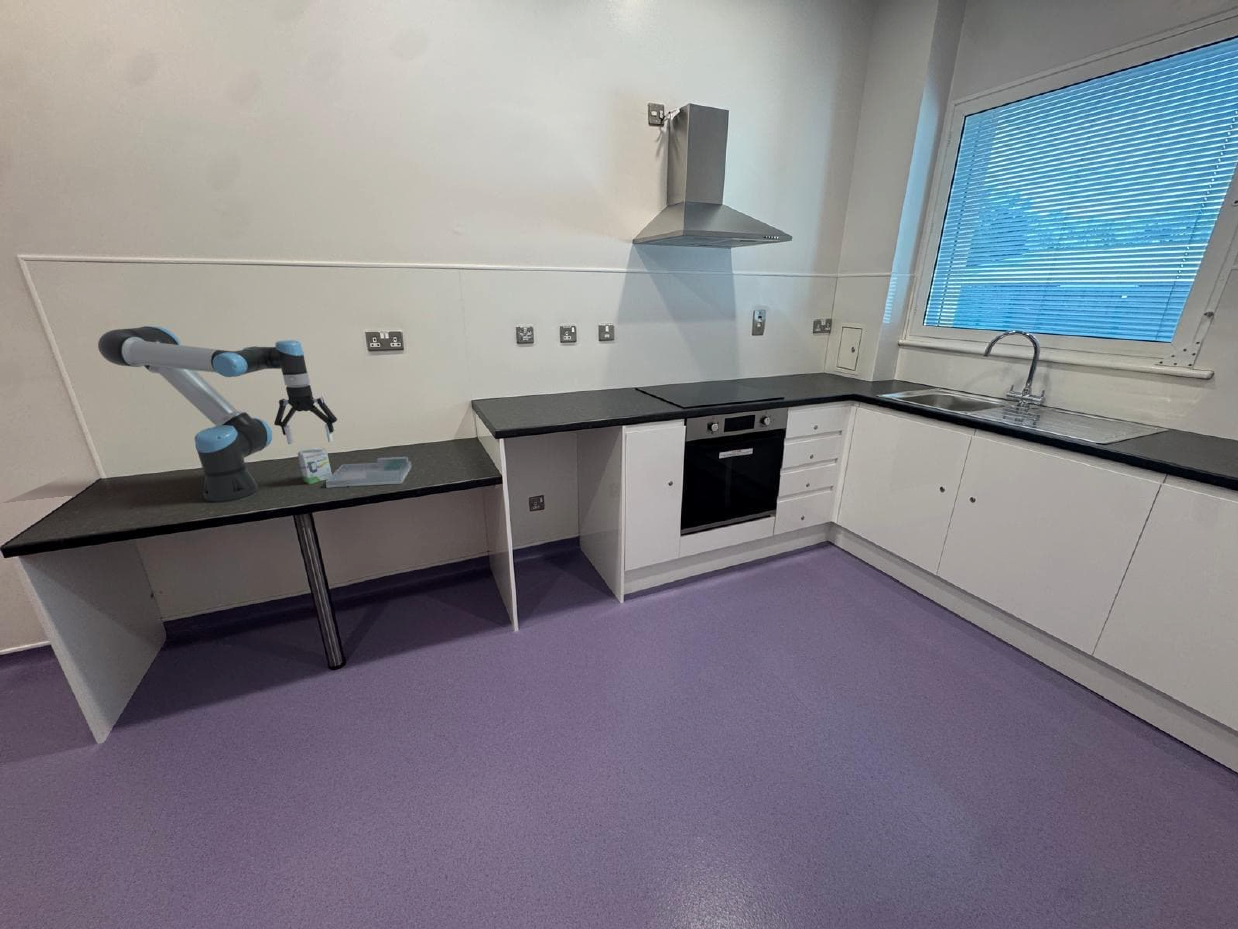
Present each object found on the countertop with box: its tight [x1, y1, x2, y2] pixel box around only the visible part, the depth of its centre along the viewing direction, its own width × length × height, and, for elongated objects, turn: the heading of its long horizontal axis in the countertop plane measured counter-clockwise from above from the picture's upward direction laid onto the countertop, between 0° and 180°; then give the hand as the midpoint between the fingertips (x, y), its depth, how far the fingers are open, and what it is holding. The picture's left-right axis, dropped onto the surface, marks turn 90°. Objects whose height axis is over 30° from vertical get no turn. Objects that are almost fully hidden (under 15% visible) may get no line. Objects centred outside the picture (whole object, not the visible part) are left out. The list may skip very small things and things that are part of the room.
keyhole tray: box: [325, 456, 413, 489], centre depth 190 cm, size 26×18×4 cm
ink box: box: [297, 446, 333, 485], centre depth 186 cm, size 9×5×12 cm, turn 143°
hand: (311, 442), depth 183 cm, fingers open, 13 cm apart
